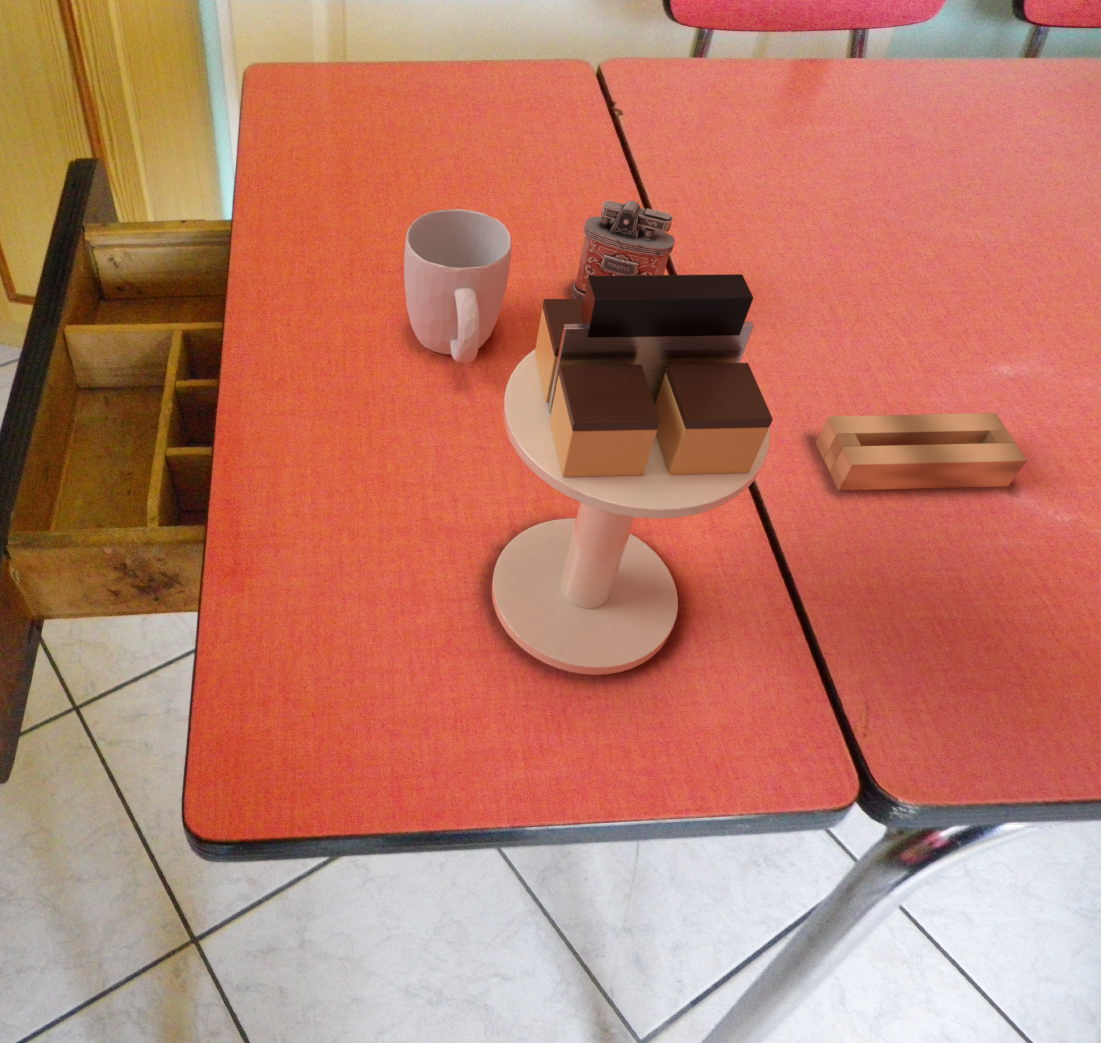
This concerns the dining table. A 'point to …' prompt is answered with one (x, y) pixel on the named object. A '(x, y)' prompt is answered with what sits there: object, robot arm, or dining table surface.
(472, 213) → the mug
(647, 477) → the cake stand
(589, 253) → the lighter
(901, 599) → the dining table surface
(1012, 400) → the dining table surface
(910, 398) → the dining table surface
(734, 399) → the cake
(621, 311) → the knife
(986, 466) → the knife block
